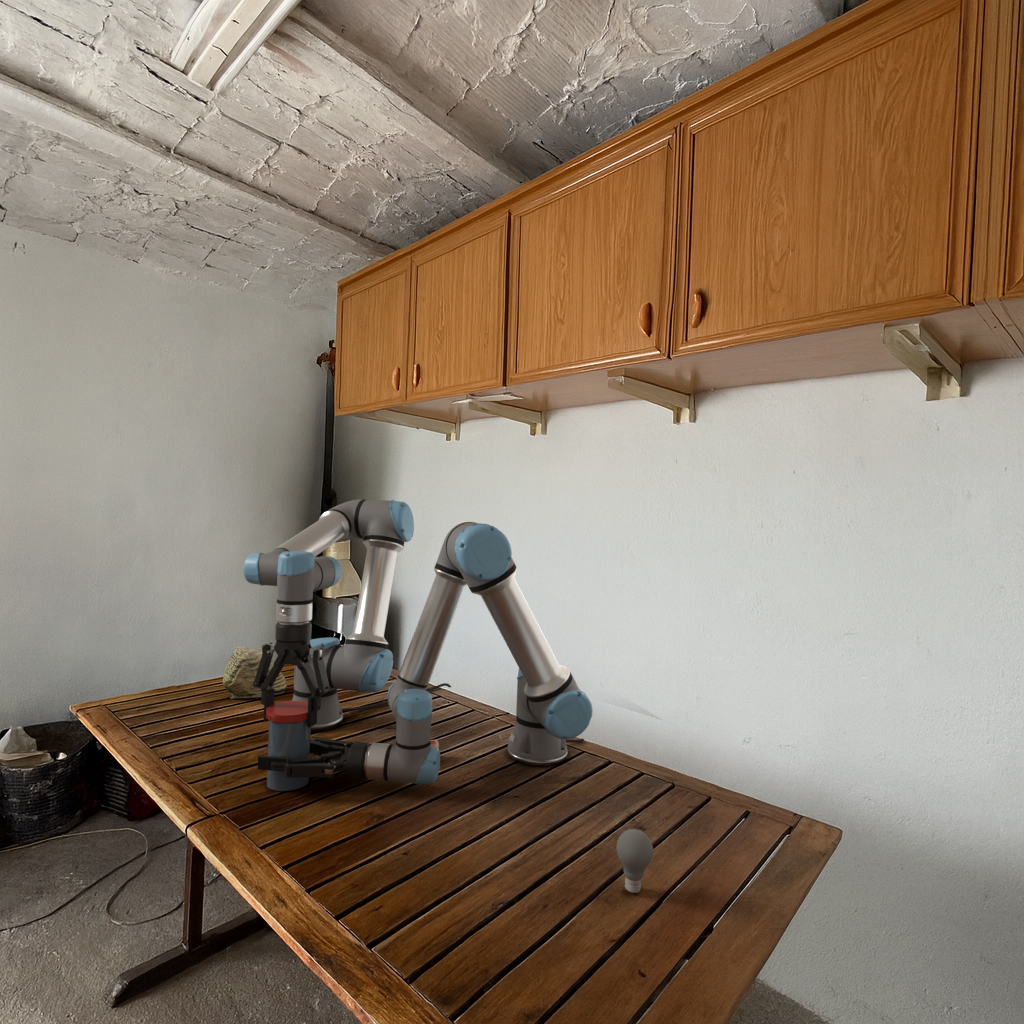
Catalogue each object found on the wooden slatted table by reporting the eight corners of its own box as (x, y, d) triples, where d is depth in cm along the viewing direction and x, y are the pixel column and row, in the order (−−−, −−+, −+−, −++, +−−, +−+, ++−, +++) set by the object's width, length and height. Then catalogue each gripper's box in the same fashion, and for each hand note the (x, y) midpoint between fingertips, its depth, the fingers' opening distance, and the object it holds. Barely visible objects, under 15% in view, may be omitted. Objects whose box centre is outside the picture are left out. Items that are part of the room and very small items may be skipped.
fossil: (218, 695, 195) (220, 647, 195) (278, 685, 208) (279, 640, 207) (228, 703, 189) (230, 653, 188) (289, 692, 201) (290, 645, 201)
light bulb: (610, 879, 108) (613, 822, 108) (644, 879, 109) (647, 822, 109) (619, 902, 102) (622, 840, 102) (655, 901, 103) (658, 840, 103)
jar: (288, 794, 134) (291, 719, 134) (257, 785, 138) (260, 712, 137) (317, 778, 142) (320, 708, 142) (287, 770, 146) (289, 701, 145)
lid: (323, 715, 140) (324, 707, 140) (282, 726, 133) (282, 719, 132) (297, 704, 147) (298, 697, 147) (256, 714, 139) (257, 707, 139)
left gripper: (237, 620, 138) (234, 721, 138) (332, 629, 133) (328, 734, 133) (258, 614, 145) (255, 711, 146) (349, 623, 140) (345, 722, 141)
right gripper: (352, 801, 128) (244, 792, 129) (381, 758, 149) (288, 751, 151) (353, 764, 128) (245, 756, 129) (382, 726, 149) (290, 719, 151)
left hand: (290, 722), depth 140 cm, fingers closed on lid, 10 cm apart
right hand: (268, 753), depth 140 cm, fingers closed on jar, 9 cm apart
